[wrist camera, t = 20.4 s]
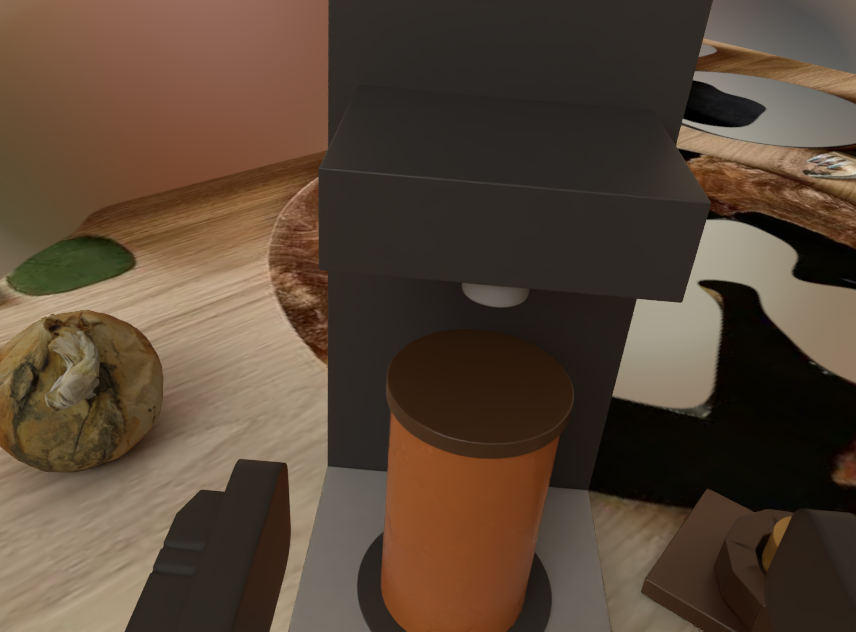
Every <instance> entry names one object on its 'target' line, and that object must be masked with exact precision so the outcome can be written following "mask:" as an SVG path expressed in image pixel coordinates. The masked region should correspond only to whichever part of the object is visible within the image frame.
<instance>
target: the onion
mask: <svg viewBox="0 0 856 632" xmlns="http://www.w3.org/2000/svg"><path fill="white" fill-rule="evenodd" d="M162 398H163V372H162V365H161V363H160V360H159V357H158V355H157V353H156V351H155V350H154V348H153V347H152V345H151V343H150V342H149V340H148V339H147V338H146V337H145V336H144V335H143V334H142V333H141V332H140V331H139V330H138V329H137V328H135V327H133V326H132V325H130V324H129V323H127V322H124V321H122V320H119V319H117V318H115V317H113V316H111V315H108V314H104V313H98V312H94V311H90V310H81V311H76V312H69V313H62V314H58V315H54V314H51V315H50V316H49V317H44V318H42V319H41V320H40V321H38V322H35V323H34V324H32V325H31V326H29V327H28V328H26V329H25V330H23V331H22V332H20V333H19V334H18V335H17V336H15V337H14V338H13V339H12V340H10V341H9V342H8V343H7V344H6V345H5V346H4V347H3V348H2V349H1V350H0V446H1V448H3V449H4V450H5V451H6V452H8V453H9V454H10V455H12V456H13V457H14V458H15V459H17V460H19V461H21V462H23V463H25V464H27V465H29V466H32V467H35V468H37V469H40V470H43V471H46V472H72V471H81V470H86V469H89V468H92V467H95V466H97V465H100V464H104V463H107V462H109V461H111V460H114V459H117V458H119V457H120V456H122V455H123V454H125V453H126V452H127V451H128V450H130V449H131V448H132V447H133V446H134V445H135V444H136V443H137V442H138V441H139V440H140V439H141V438H142V437H144V436H145V435H146V434H147V433H148V432H149V430H150V429H151V428H152V427H153V425H154V423H155V421H156V419H157V417H158V415H159V413H160V409H161V405H162Z"/></svg>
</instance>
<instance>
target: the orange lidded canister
mask: <svg viewBox="0 0 856 632" xmlns="http://www.w3.org/2000/svg"><path fill="white" fill-rule="evenodd" d="M386 398H387V403H388V405H389V407H390V410H391V414H390V431H389V449H388V466H387V483H386V500H385V517H384V534H383V551H382V568H381V591H382V596H383V599H384V603H385V605H386V607H387V609H388V611H389V612H390V614H391V615H392V617H393V618H394V620H395V621H396V622H397V623H398V624H399V625H400V626H401V627H402V628H403V629H404V630H406V631H407V632H507V631H508V630H509V629H510V628H511V627H512V626H513V624H514V623H515V621H516V620H517V619H518V617H519V615H520V613H521V610H522V607H523V603H524V599H525V594H526V589H527V585H528V580H529V576H530V571H531V566H532V562H533V557H534V552H535V548H536V543H537V539H538V534H539V529H540V525H541V520H542V515H543V511H544V506H545V501H546V497H547V492H548V488H549V483H550V478H551V474H552V469H553V464H554V460H555V455H556V450H557V446H558V441H559V437H560V434H561V433H562V432H563V431H564V429H565V428H566V426H567V424H568V422H569V419H570V416H571V412H572V407H573V402H574V391H573V386H572V383H571V380H570V378H569V376H568V374H567V373H566V371H565V370H564V369H563V367H562V366H561V365H560V364H559V363H558V362H557V361H556V360H555V359H554V358H553V357H552V356H550V355H549V354H548V353H547V352H545V351H543V350H542V349H540V348H539V347H537V346H535V345H533V344H531V343H529V342H527V341H524V340H522V339H520V338H517V337H514V336H511V335H507V334H503V333H499V332H494V331H488V330H479V329H454V330H446V331H440V332H435V333H432V334H428V335H425V336H423V337H420V338H418V339H416V340H414V341H412V342H410V343H409V344H407V345H406V346H404V347H403V348H402V349H401V350H400V351H399V352H398V353H397V354H396V355H395V356H394V358H393V359H392V361H391V363H390V365H389V367H388V371H387V375H386Z"/></svg>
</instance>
